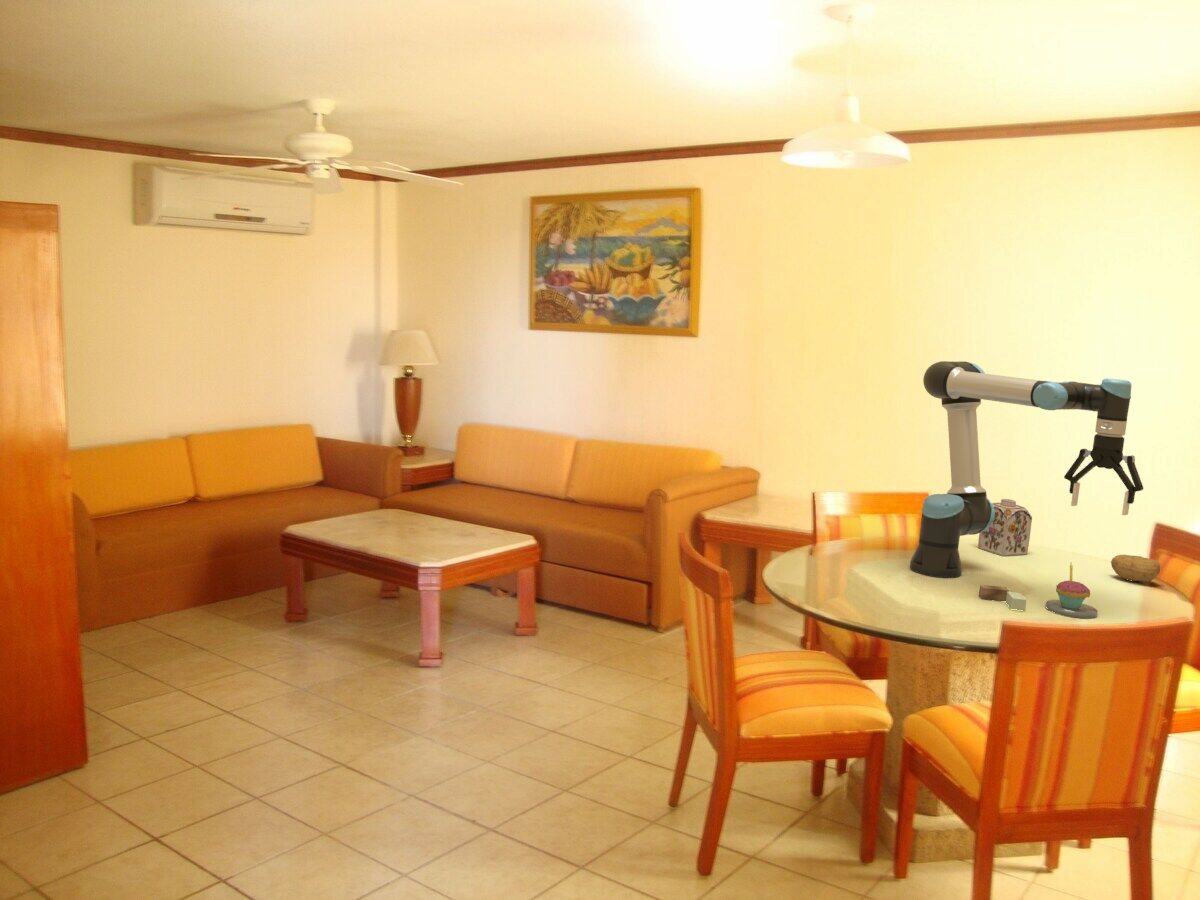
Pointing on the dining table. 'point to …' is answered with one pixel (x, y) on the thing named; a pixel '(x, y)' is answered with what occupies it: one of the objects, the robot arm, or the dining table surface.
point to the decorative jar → (1007, 530)
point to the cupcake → (1072, 592)
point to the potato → (1135, 568)
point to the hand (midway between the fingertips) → (1099, 510)
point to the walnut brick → (993, 593)
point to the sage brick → (1016, 601)
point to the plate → (1072, 610)
